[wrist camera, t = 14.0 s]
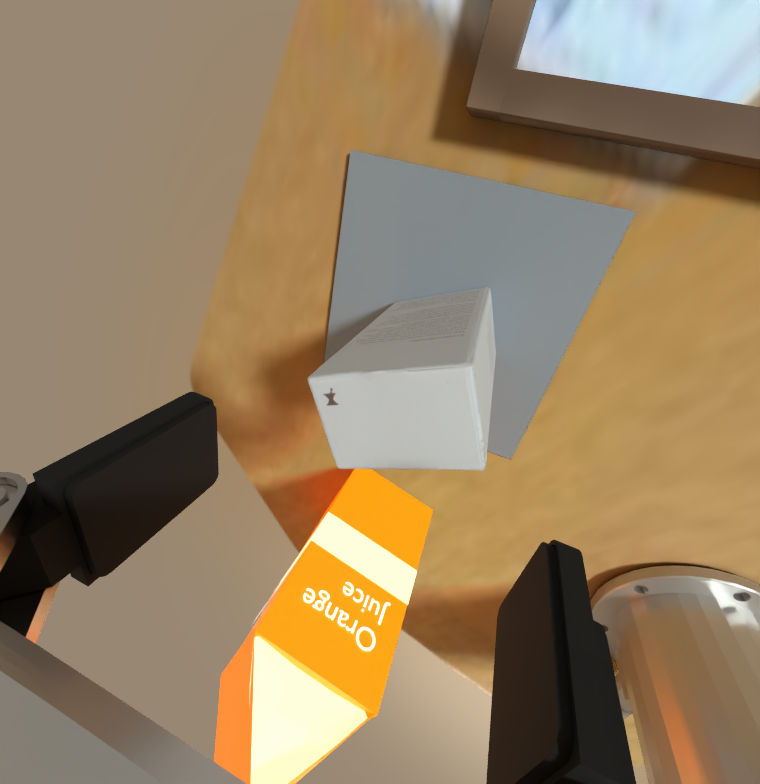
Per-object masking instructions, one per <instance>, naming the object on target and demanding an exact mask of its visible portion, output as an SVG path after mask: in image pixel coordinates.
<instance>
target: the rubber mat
mask: <svg viewBox="0 0 760 784" xmlns="http://www.w3.org/2000/svg"><path fill="white" fill-rule="evenodd" d="M635 213H636V212H635V211H630V210H626V209H621V208H616V207H612V206H607V205H602V204H598V203H593V202H589V201H584V200H579V199H575V198H570V197H565V196H561V195H556V194H552V193H547V192H542V191H538V190H533V189H529V188H524V187H519V186H515V185H510V184H505V183H501V182H496V181H492V180H487V179H482V178H478V177H473V176H469V175H464V174H459V173H455V172H450V171H445V170H441V169H436V168H432V167H427V166H422V165H418V164H413V163H408V162H404V161H399V160H395V159H390V158H385V157H381V156H376V155H372V154H367V153H362V152H358V151H353V150H351V152H350V159H349V167H348V175H347V183H346V191H345V199H344V207H343V215H342V223H341V231H340V239H339V247H338V255H337V263H336V271H335V279H334V286H333V294H332V302H331V310H330V318H329V326H328V334H327V342H326V350H325V358H324V363H325V362H326V361H327V360H328V359H329V358H330V357H332V356H333V355H334V354H335V353H336V352H338V351H339V350H340V349H341V348H342V347H344V346H345V345H346V344H347V343H348V342H349V341H351V340H352V339H353V338H354V337H355V336H356V335H358V334H359V333H360V332H361V331H362V330H364V329H365V328H366V327H367V326H368V325H369V324H371V323H372V322H373V321H374V320H375V319H376V318H377V317H379V316H380V315H381V314H382V313H383V312H384V311H386V310H387V309H388V308H389V307H390V306H391V305H393V304H394V303H395V302H400V301H406V300H412V299H418V298H424V297H430V296H436V295H442V294H449V293H454V292H460V291H466V290H472V289H479V288H485V287H489V288H490V290H491V298H492V309H493V322H494V335H495V347H496V358H495V369H494V380H493V390H492V401H491V413H490V425H489V436H488V448H487V451H488V452H491V453H494V454H496V455H499V456H502V457H505V458H508V459H510V460H511V458H512V456H513V454H514V452H515V450H516V448H517V446H518V444H519V443H520V441H521V439H522V437H523V435H524V433H525V431H526V429H527V427H528V425H529V423H530V421H531V419H532V417H533V415H534V413H535V411H536V409H537V407H538V405H539V403H540V401H541V399H542V397H543V395H544V393H545V391H546V389H547V387H548V385H549V383H550V381H551V379H552V377H553V375H554V373H555V371H556V369H557V367H558V365H559V363H560V361H561V359H562V357H563V355H564V353H565V352H566V350H567V348H568V346H569V344H570V342H571V340H572V338H573V336H574V334H575V332H576V330H577V328H578V326H579V324H580V322H581V320H582V318H583V316H584V314H585V312H586V310H587V308H588V306H589V304H590V302H591V300H592V298H593V296H594V294H595V292H596V290H597V288H598V286H599V284H600V282H601V280H602V278H603V276H604V274H605V272H606V270H607V268H608V266H609V264H610V262H611V261H612V259H613V257H614V255H615V253H616V251H617V249H618V247H619V245H620V243H621V241H622V239H623V237H624V235H625V233H626V231H627V229H628V227H629V225H630V223H631V221H632V219H633V217H634V215H635Z"/></svg>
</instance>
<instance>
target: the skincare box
mask: <svg viewBox="0 0 760 784" xmlns="http://www.w3.org/2000/svg"><path fill="white" fill-rule="evenodd" d="M495 358H496V347H495V335H494V322H493V309H492V298H491V290H490V288H489V287H485V288H479V289H472V290H466V291H460V292H454V293H449V294H442V295H436V296H430V297H424V298H418V299H412V300H406V301H400V302H395V303H394V304H393V305H391V306H390V307H389V308H388V309H387V310H386V311H384V312H383V313H382V314H381V315H380V316H379V317H377V318H376V319H375V320H374V321H373V322H372V323H371V324H369V325H368V326H367V327H366V328H365V329H364V330H362V331H361V332H360V333H359V334H358V335H356V336H355V337H354V338H353V339H352V340H351V341H349V342H348V343H347V344H346V345H345V346H344V347H342V348H341V349H340V350H339V351H338V352H336V353H335V354H334V355H333V356H332V357H330V358H329V359H328V360H327V361H326V362H325V363H323V364H322V365H321V366H320V367H319V368H318V369H317V370H315V371H314V372H313V373H312V374H311V375H310V376H309V377H308V378H307V381H308V384H309V386H310V389H311V392H312V395H313V398H314V401H315V403H316V406H317V409H318V412H319V415H320V418H321V421H322V425H323V428H324V431H325V434H326V437H327V440H328V443H329V446H330V449H331V452H332V455H333V458H334V460H335V463H336V465H337V468H339V469H434V470H484V469H485V466H486V459H487V448H488V436H489V425H490V413H491V401H492V390H493V380H494V369H495Z"/></svg>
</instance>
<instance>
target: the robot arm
mask: <svg viewBox="0 0 760 784" xmlns="http://www.w3.org/2000/svg"><path fill="white" fill-rule="evenodd" d="M33 476H34V479H35V481H34V482H32V483H30V484H29V485H28V484H27V482H26V479H25V478H23V477H22V476H20V475H18V474H14V473H10V472H0V784H247V783H245V782H244V781H242V780H241V779H239V778H238V777H236V776H235V775H233V774H232V773H230V772H229V771H227V770H226V769H224V768H223V767H221V766H220V765H218V764H217V763H215V762H214V761H212V760H211V759H209V758H208V757H206V756H205V755H203V754H202V753H200V752H199V751H197V750H196V749H194V748H192V747H191V746H190V745H188V744H187V743H185V742H184V741H182V740H180V739H179V738H178V737H176V736H175V735H173V734H171V733H170V732H169V731H167V730H166V729H164V728H163V727H161V726H160V725H158V724H156V723H155V722H153V721H152V720H150V719H149V718H147V717H146V716H144V715H143V714H141V713H140V712H138V711H137V710H135V709H134V708H132V707H130V706H129V705H128V704H126V703H125V702H123V701H122V700H120V699H119V698H117V697H116V696H114V695H113V694H111V693H110V692H108V691H107V690H105V689H104V688H102V687H100V686H99V685H98V684H96V683H94V682H93V681H91V680H90V679H88V678H87V677H85V676H84V675H82V674H81V673H79V672H78V671H76V670H75V669H73V668H72V667H70V666H69V665H67V664H65V663H64V662H62V661H61V660H59V659H58V658H56V657H54V656H53V655H52V654H50V653H49V652H47V651H46V650H44V649H43V648H41V647H40V646H38V645H36V642H37V639H38V637H39V634H40V632H41V629H42V627H43V624H44V622H45V619H46V616H47V614H48V611H49V609H50V606H51V603H52V601H53V598H54V596H55V593H56V590H57V588H58V585H59V583H60V581H61V580H62V579H63V578H64V577H66V576H67V575H68V574H69V573H70V574H71V576H72V577H73V578H75V579H76V580H78V581H80V582H81V583H83V584H85V585H87V586H89V585H90V584H92V583H93V582H94V581H95V580H96V579H97V578H99V577H103V576H106V575H108V574H109V573H111V572H112V571H113V570H114V569H115V568H117V567H118V566H119V565H120V564H121V563H122V562H124V561H125V560H126V559H127V558H128V557H129V556H130V555H132V554H133V553H134V552H135V551H136V550H137V549H139V548H140V547H141V546H142V545H143V544H144V543H146V542H147V541H148V540H149V539H150V538H151V537H153V536H154V535H155V534H156V533H157V532H158V531H160V530H161V529H162V528H163V527H164V526H165V525H167V524H168V523H169V522H170V521H171V520H172V519H173V518H175V517H176V516H177V515H178V514H179V513H181V512H182V511H183V510H184V509H185V508H186V507H188V506H189V505H190V504H191V503H192V502H193V501H195V500H196V499H197V498H198V497H199V496H200V495H201V494H203V493H204V492H205V491H206V490H207V489H208V488H210V487H211V486H212V485H213V484H214V483H215V481H216V479H217V477H218V444H217V415H216V407H215V406H214V404H213V401H212V400H211V399H210V398H208V397H205V396H203V395H200V394H198V393H195V392H189V393H187V394H185V395H183V396H181V397H179V398H177V399H175V400H173V401H171V402H169V403H167V404H166V405H163V406H162V407H160V408H158V409H156V410H154V411H152V412H150V413H148V414H146V415H144V416H142V417H141V418H139V419H137V420H135V421H133V422H131V423H129V424H127V425H125V426H123V427H121V428H119V429H117V430H116V431H114V432H112V433H110V434H108V435H106V436H104V437H102V438H100V439H99V440H97V441H95V442H93V443H91V444H89V445H87V446H85V447H83V448H81V449H79V450H77V451H75V452H73V453H72V454H70V455H68V456H66V457H64V458H62V459H60V460H58V461H56V462H54V463H52V464H50V465H49V466H47V467H45V468H43V469H41V470H39V471H37V472H35V473H33ZM611 657H612V658H613V659H615V660H616V662H617V667H618V671H619V673H618V674H617V675H616V677H615V675H614V670H613V665H612V660H611ZM632 713H633V717H634V721H635V726H636V730H637V734H638V739H639V743H640V747H641V752H642V756H643V760H644V765H645V769H646V773H647V778H648V782H649V784H760V585H759V584H757V583H754V582H752V581H749V580H747V579H745V578H742V577H740V576H737V575H733V574H729V573H726V572H722V571H719V570H714V569H708V568H701V567H695V566H676V565H671V566H655V567H648V568H643V569H638V570H634V571H631V572H628V573H625V574H622V575H619V576H617V577H616V578H614V579H612V580H610V581H608V582H606V583H605V584H604V585H603V586H602V587H601V588H599V589H598V590H597V591H596V593H595V594H594V596H593V597H592V599H591V602H590V598H589V592H588V586H587V580H586V574H585V569H584V563H583V557H582V554H581V552H580V550H578V549H576V548H573V547H571V546H569V545H566V544H564V543H561V542H559V541H556V540H552V541H551V542H550V543H549V544H547V543H545V542H542V543H541V544H540V546H539V547H538V549H537V550H536V552H535V553H534V555H533V556H532V558H531V559H530V561H529V562H528V564H527V566H526V567H525V569H524V570H523V572H522V573H521V575H520V576H519V578H518V579H517V581H516V582H515V584H514V585H513V587H512V589H511V590H510V592H509V593H508V595H507V596H506V598H505V599H504V601H503V602H502V604H501V606H500V609H499V612H498V618H497V631H496V647H495V662H494V677H493V692H492V709H491V724H490V738H489V739H490V740H489V753H488V769H487V784H636V781H635V776H634V771H633V765H632V760H631V755H630V750H629V745H628V740H627V735H626V730H625V725H624V719H625V718H626V717H628V716H629V715H631V714H632Z"/></svg>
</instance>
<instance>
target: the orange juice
mask: <svg viewBox="0 0 760 784" xmlns="http://www.w3.org/2000/svg"><path fill="white" fill-rule="evenodd" d="M432 512H433V510H432V509H430V508H429V507H427V506H426V505H424V504H423V503H421V502H419V501H418V500H416V499H415V498H413V497H412V496H410V495H409V494H407V493H406V492H404V491H403V490H401V489H400V488H398V487H397V486H395V485H394V484H392V483H391V482H389V481H388V480H386V479H385V478H383V477H382V476H380V475H379V474H377V473H376V472H374V471H373V470H371V469H354V470H353V472H352V473H351V475H350V476H349V478H348V479H347V481H346V482H345V484H344V485H343V487H342V488H341V490H340V491H339V493H338V494H337V495H336V497H335V498H334V500H333V501H332V503H331V504H330V506H329V507H328V509H327V510H326V512H325V513H324V515H323V516H322V518H321V519H320V521H319V523H318V524H317V526H316V528H315V529H314V531H313V532H312V534H311V536H310V537H309V539H308V540H307V542H306V544H305V545H304V547H303V548H302V550H301V552H300V553H299V555H298V557H297V558H296V560H295V561H294V563H293V564H292V566H291V567H290V568H289V570H288V572H287V573H286V575H285V577H284V578H283V580H282V581H281V583H280V585H279V586H278V588H277V589H276V591H275V593H274V594H273V597H272V598H271V600H270V601H269V603H268V605H267V607H266V608H265V609H264V611H263V613H262V614H261V616H260V618H259V619H258V621H257V622H256V624H255V626H254V627H253V629H252V630H251V632H250V634H249V635H248V637H247V639H246V640H245V642H244V643H243V645H242V646H241V647H240V649H239V650H238V652H237V653H236V654H235V656H234V657H233V659H232V660H231V662H230V663H229V664H228V666H227V667H226V669H225V670H224V671H223V673H222V674H221V683H220V695H219V708H218V720H217V733H216V746H215V758H214V762H215V763H217V764H218V765H220V766H221V767H223V768H224V769H226V770H227V771H229V772H230V773H232V774H233V775H235V776H236V777H238V778H239V779H241V780H242V781H244V782H245V783H247V784H295V783H296V782H297V781H299V780H300V779H301V778H302V777H303V776H304V775H305V774H307V773H308V772H309V771H310V770H311V769H312V768H314V767H315V766H316V765H317V764H318V763H319V762H320V761H321V760H322V759H324V758H325V757H326V756H327V755H328V754H330V753H331V752H332V751H333V750H334V749H335V748H336V747H338V746H339V745H340V744H341V743H342V742H343V741H345V740H346V739H347V738H348V737H349V736H350V735H351V734H353V733H354V732H355V731H356V730H357V729H358V728H359V727H361V726H362V725H363V724H364V723H365V722H366V721H367V720H369V719H371V718H373V717H375V716H377V714H378V711H379V707H380V703H381V700H382V696H383V692H384V689H385V685H386V681H387V677H388V674H389V670H390V666H391V662H392V659H393V655H394V651H395V648H396V644H397V641H398V637H399V633H400V630H401V626H402V622H403V619H404V615H405V611H406V608H407V605H408V603H409V600H410V596H411V592H412V588H413V585H414V581H415V577H416V574H417V567H418V563H419V560H420V556H421V552H422V549H423V545H424V541H425V538H426V534H427V530H428V527H429V523H430V519H431V516H432Z"/></svg>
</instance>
